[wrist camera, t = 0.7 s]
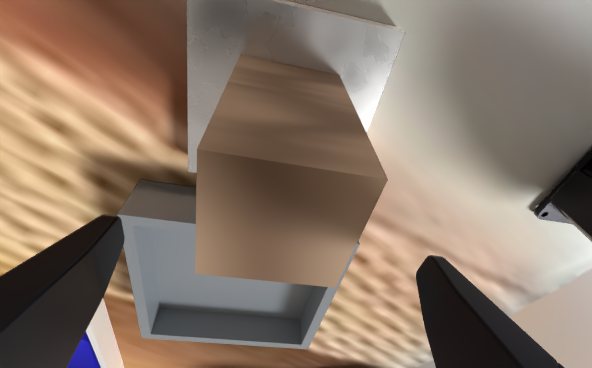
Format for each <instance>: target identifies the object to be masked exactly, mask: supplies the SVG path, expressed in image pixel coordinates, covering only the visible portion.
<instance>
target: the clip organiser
mask: <svg viewBox="0 0 592 368" xmlns="http://www.w3.org/2000/svg"><path fill="white" fill-rule="evenodd" d="M86 333H87V335H88V338H89V340H90V342H91V345H92V347H93V350H94V352H95V354H96V357H97V359H98V362H99V364H100V367H101V368H124V365H123V361H122V358H121V355H120V351H119V348H118V345H117V342H116V338H115V335H114V332H113V329H112V325H111V322H110V319H109V316H108V312H107V309H106V306H105V302H104V299H102V301H101V303H100V305H99V307H98V309H97V311H96V313H95V314H94V316H93V318H92V320H91V322H90V324H89V326H88V328H87V330H86Z"/></svg>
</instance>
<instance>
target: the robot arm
mask: <svg viewBox="0 0 592 368" xmlns="http://www.w3.org/2000/svg"><path fill="white" fill-rule="evenodd" d="M534 214H535V215H536V216H537V217H538V218H539V219H542V220H549V221H556V222H562V223H569V224H573V225H574V226H575V227H577V228H578V229H579V230H580V231H581V232H582V233H583V234H584V235H585V236H586V237H587V238H588V239H590V240H591V241H592V149H591V150H590V151H589V153H588V154H587V155H586V156H585V157H584V158H583V159H582V160H581V161H580V162H579V163H578V165H577V166H576V167H575V168H574V169H573V170H572V171H571V172H570V173H569V174H568V175H567V177H566V178H565V179H564V180H563V181H562V182H561V183H560V184H559V185H558V186H557V187H556V189H555V190H554V191H553V192H552V193H551V194H550V195H549V196H548V197H547V198H546V199H545V201H544V202H543V203H542V204H541V205H540V206H539V207H538V208H537V209H536V210H535V212H534ZM124 241H125V236H124V231H123V226H122V221H121V218H120V217H119V216H114V215H106V214H105V215H101V216H99V217H97V218H96V219H94V220H92V221H91V222H89V223H87V224H86V225H84V226H82V227H81V228H79V229H78V230H76V231H74V232H73V233H71V234H69V235H68V236H66V237H64V238H63V239H61V240H59V241H58V242H56V243H54V244H53V245H51V246H49V247H48V248H46V249H44V250H43V251H41V252H39V253H38V254H36V255H35V256H33V257H31V258H30V259H28V260H26V261H25V262H23V263H21V264H20V265H18V266H16V267H15V268H13V269H11V270H10V271H8V272H6V273H5V274H3V275H1V276H0V368H67V366H68V364H69V362H70V360H71V358H72V357H73V355H74V353H75V351H76V349H77V347H78V345H79V343H80V341H81V339H82V337H83V336H84V334H85V332H86V330H87V328H88V326H89V324H90V322H91V320H92V318H93V316H94V314H95V313H96V311H97V309H98V307H99V305H100V303H101V301H102V299H103V297H104V294H105V292H106V289H107V287H108V284H109V282H110V279H111V276H112V274H113V271H114V269H115V266H116V263H117V261H118V258H119V256H120V253H121V250H122V248H123V245H124ZM416 281H417V286H418V292H419V298H420V304H421V310H422V315H423V321H424V325H425V330H426V334H427V337H428V341H429V344H430V348H431V352H432V355H433V359H434V362H435V366H436V368H564V367H563V366H562V365H561V364H559V363H557V361H556V360H555V359H554V358H553V357H552V356H551V355H550V354H548V353H547V352H546V351H545V350H544V349H543V348H542V347H541V346H540V345H539V344H538V343H536V342H535V341H534V340H533V339H532V338H531V337H530V336H529V335H528V334H527V333H526V332H525V331H523V330H522V329H521V328H520V327H519V326H518V325H517V324H516V323H515V322H514V321H512V320H511V319H510V318H509V317H508V316H507V315H506V314H505V313H504V312H503V311H502V310H501V309H499V308H498V307H497V306H496V305H495V304H494V303H493V302H492V301H491V300H490V299H488V298H487V297H486V296H485V295H484V294H483V293H482V292H481V291H480V290H479V289H478V288H476V287H475V286H474V285H473V284H472V283H471V282H470V281H469V280H468V279H467V278H466V277H464V276H463V275H462V274H461V273H460V272H459V271H458V270H457V269H456V268H455V267H454V266H452V265H451V264H450V263H449V262H448V261H447V260H446V259H445V258H443V257H441V256H434V255H430V256H428V257H427V258H426V259H425V261H424V262H423V263H422V265H421V266H420V268H419V269H418V270H417V273H416Z"/></svg>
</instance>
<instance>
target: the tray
mask: <svg viewBox="0 0 592 368" xmlns="http://www.w3.org/2000/svg"><path fill="white" fill-rule="evenodd" d="M117 216H119V217H120V218H121V221H122V226H123V231H124V236H125V241H124V245H123V246H124V251H125V256H126V261H127V266H128V271H129V276H130V281H131V286H132V291H133V296H134V301H135V306H136V311H137V316H138V321H139V326H140V331H141V337H142V338H149V339H163V340H178V341H193V342H208V343H223V344H238V345H253V346H268V347H282V348H297V349H308V348H309V346H310V344H311V342H312V340H313V338H314V336H315V334H316V331H317V329H318V327H319V325H320V323H321V321H322V319H323V317H324V315H325V313H326V311H327V309H328V307H329V305H330V303H331V301H332V299H333V297H334V295H335V293H336V291H337V289H338V287H339V285H340V283H341V281H342V279H343V277H344V275H345V273H346V271H347V269H348V267H349V265H350V263H351V261H352V258H353V256H354V254H355V252H356V250H357V248H358V246H359V240H358V242H357V244H356V246H355V248H354V250H353V253H352V255H351V257H350V259H349V261H348V263H347V265H346V267H345V269H344V271H343V273H342V275H341V277H340V279H339V281H338V283H337V286H336V288H333V287H323V286H313V285H303V284H293V283H283V282H273V281H263V280H253V279H243V278H233V277H223V276H213V275H203V274H195V253H196V187H190V186H182V185H175V184H168V183H161V182H154V181H147V180H139V182H138V183H137V185H136V186H135V188H134V189H133V191H132V192H131V194H130V195H129V197H128V198H127V200H126V202H125V203H124V205H123V206H122V208H121V209H120V211H119V212H118V214H117Z"/></svg>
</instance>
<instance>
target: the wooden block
mask: <svg viewBox="0 0 592 368" xmlns="http://www.w3.org/2000/svg"><path fill="white" fill-rule="evenodd" d="M387 180H388V179H387V177H386V174H385V172H384V170H383V168H382V166H381V164H380V161H379V159H378V157H377V155H376V153H375V151H374V148H373V146H372V144H371V142H370V140H369V138H368V136H367V133H366V131H365V129H364V127H363V125H362V123H361V120H360V118H359V116H358V114H357V112H356V110H355V107H354V105H353V103H352V101H351V99H350V97H349V94H348V92H347V90H346V88H345V86H344V84H343V82H342V79H341V77H340V75H338V74H333V73H328V72H323V71H319V70H314V69H309V68H304V67H299V66H295V65H290V64H285V63H280V62H275V61H271V60H266V59H261V58H256V57H251V56H247V55H242V54H240V56H239V58H238V61H237V63H236V65H235V67H234V69H233V72H232V74H231V76H230V78H229V80H228V82H227V85H226V87H225V89H224V91H223V93H222V95H221V98H220V100H219V102H218V104H217V106H216V109H215V111H214V113H213V115H212V117H211V119H210V122H209V124H208V126H207V128H206V130H205V133H204V135H203V137H202V139H201V141H200V143H199V146H198V148H197V177H196V253H195V274H203V275H213V276H223V277H233V278H243V279H253V280H263V281H273V282H283V283H293V284H303V285H313V286H323V287H333V288H336V286H337V283H338V281H339V279H340V277H341V275H342V273H343V271H344V269H345V267H346V265H347V263H348V261H349V259H350V257H351V255H352V253H353V250H354V248H355V246H356V244H357V242H358V240H359V238H360V236H361V234H362V232H363V230H364V228H365V226H366V224H367V222H368V219H369V217H370V215H371V213H372V211H373V209H374V207H375V205H376V203H377V201H378V199H379V197H380V195H381V193H382V191H383V189H384V186H385V184H386V182H387Z"/></svg>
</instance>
